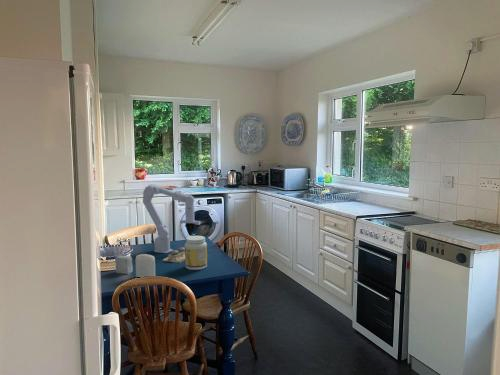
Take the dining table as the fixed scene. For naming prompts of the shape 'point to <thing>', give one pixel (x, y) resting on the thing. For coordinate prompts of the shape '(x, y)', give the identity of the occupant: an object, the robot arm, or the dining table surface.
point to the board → (176, 257)
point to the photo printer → (145, 265)
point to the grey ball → (181, 249)
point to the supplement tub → (195, 253)
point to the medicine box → (123, 264)
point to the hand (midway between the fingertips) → (190, 234)
